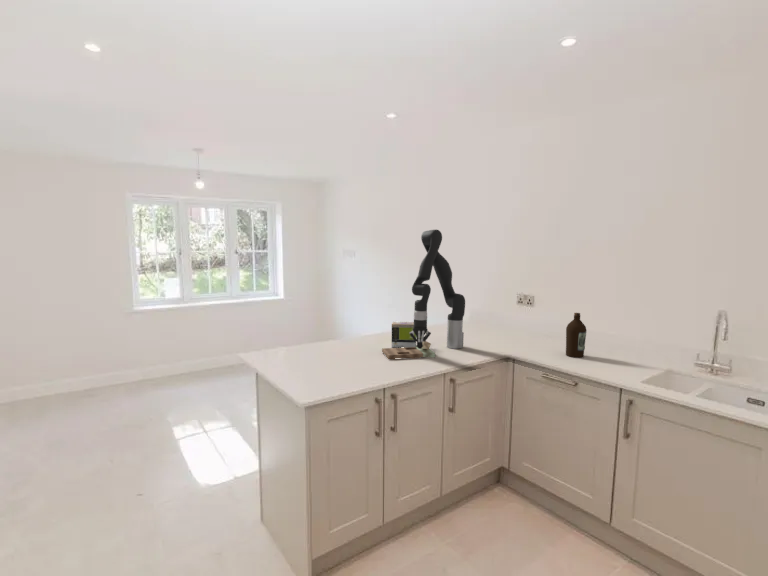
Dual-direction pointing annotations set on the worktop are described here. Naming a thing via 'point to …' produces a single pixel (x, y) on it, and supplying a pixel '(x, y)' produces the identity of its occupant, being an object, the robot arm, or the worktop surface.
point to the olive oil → (575, 337)
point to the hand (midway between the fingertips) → (419, 348)
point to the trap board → (407, 352)
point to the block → (426, 345)
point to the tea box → (402, 334)
